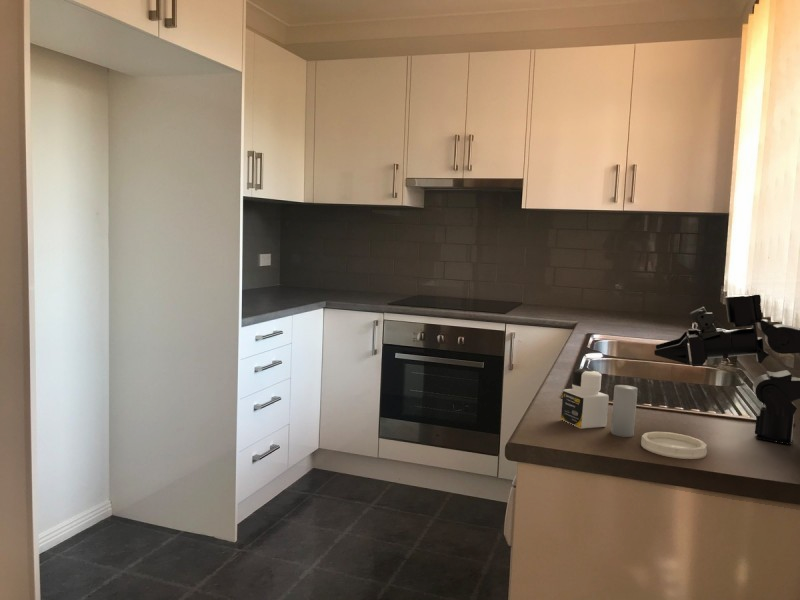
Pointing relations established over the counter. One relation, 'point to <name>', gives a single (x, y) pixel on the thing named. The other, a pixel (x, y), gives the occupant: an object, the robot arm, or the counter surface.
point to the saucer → (674, 445)
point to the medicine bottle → (585, 401)
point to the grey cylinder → (624, 410)
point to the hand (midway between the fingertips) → (655, 350)
